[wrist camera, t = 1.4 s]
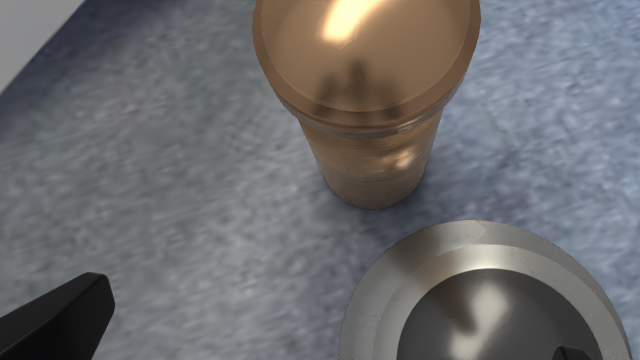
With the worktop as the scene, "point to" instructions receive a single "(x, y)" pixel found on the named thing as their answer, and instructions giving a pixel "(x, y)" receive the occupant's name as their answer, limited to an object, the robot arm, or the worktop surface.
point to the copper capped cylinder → (367, 83)
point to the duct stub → (478, 300)
